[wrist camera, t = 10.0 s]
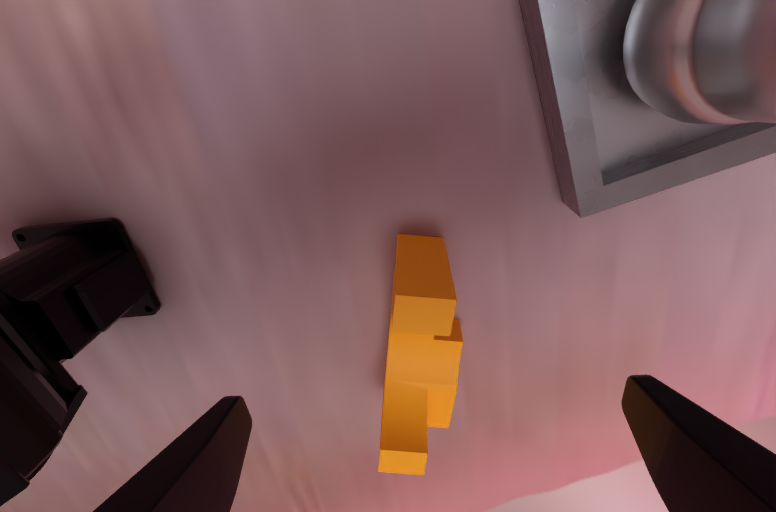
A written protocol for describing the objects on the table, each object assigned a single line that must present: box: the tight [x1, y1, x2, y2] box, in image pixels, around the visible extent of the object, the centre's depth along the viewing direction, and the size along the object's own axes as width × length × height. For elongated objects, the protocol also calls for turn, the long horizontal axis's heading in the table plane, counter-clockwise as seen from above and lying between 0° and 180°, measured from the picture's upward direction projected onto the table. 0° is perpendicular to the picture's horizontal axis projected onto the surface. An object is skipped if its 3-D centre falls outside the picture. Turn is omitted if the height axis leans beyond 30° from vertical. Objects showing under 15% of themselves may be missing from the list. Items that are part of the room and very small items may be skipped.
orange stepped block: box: [378, 234, 463, 475], centre depth 21 cm, size 12×4×6 cm, turn 176°
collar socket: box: [519, 0, 776, 218], centre depth 15 cm, size 12×12×2 cm
